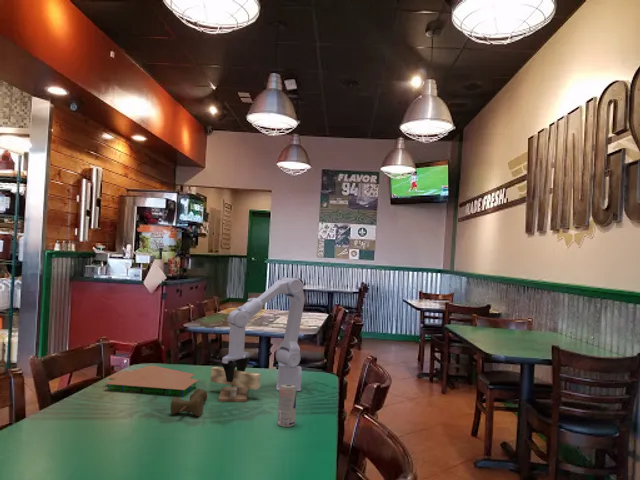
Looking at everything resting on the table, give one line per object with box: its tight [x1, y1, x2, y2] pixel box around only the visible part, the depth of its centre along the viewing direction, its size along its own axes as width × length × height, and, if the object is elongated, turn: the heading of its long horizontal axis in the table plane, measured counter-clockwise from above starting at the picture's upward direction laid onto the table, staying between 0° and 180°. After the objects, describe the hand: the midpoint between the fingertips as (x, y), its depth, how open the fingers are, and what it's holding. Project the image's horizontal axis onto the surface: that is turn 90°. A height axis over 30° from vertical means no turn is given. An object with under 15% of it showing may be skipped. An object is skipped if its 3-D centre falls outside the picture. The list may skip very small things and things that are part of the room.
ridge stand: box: [217, 385, 249, 403], centre depth 182 cm, size 10×16×4 cm, turn 7°
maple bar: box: [210, 366, 261, 390], centre depth 182 cm, size 20×3×5 cm, turn 65°
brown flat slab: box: [104, 365, 199, 398], centre depth 189 cm, size 23×33×8 cm
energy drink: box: [277, 384, 297, 428], centre depth 153 cm, size 5×5×12 cm
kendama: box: [170, 388, 208, 418], centre depth 161 cm, size 6×10×20 cm
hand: (234, 379), depth 182 cm, fingers open, 6 cm apart
